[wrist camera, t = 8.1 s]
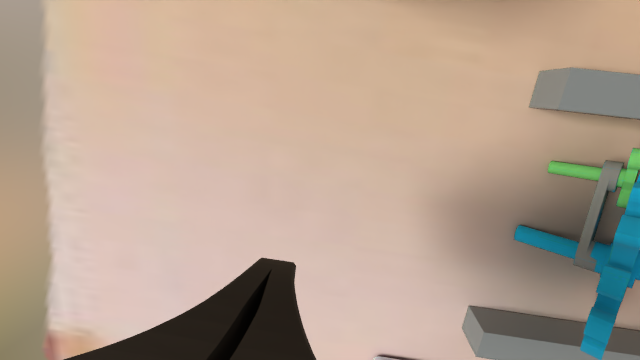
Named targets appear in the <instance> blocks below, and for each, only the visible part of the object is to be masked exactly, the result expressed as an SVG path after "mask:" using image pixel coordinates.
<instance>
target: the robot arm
mask: <svg viewBox="0 0 640 360" xmlns="http://www.w3.org/2000/svg"><path fill="white" fill-rule="evenodd" d="M295 270H296V265H295V264H294V263H293V262H287V261H280V260H273V259H267V258H261V259H259V260H258V261H257V262H256V263H254V264H253V265H252V266H251V267H250V268H248V269H247V270H246V271H245V272H244V273H242V274H241V275H240V276H239V277H237V278H236V279H235V280H233V281H232V282H231V283H230V284H228V285H227V286H226V287H224V288H223V289H221V290H220V291H218V292H217V293H216V294H214V295H213V296H211V297H210V298H208V299H207V300H205V301H204V302H202V303H200V304H199V305H197V306H195V307H194V308H192V309H190V310H188V311H186V312H185V313H183V314H181V315H179V316H177V317H175V318H173V319H171V320H169V321H166V322H164V323H162V324H160V325H158V326H156V327H154V328H152V329H149V330H147V331H145V332H142V333H140V334H137V335H135V336H133V337H130V338H127V339H125V340H122V341H119V342H117V343H114V344H111V345H108V346H105V347H103V348H100V349H96V350H93V351H90V352H87V353H84V354H80V355H77V356H74V357H71V358H67V359H64V360H316V358H315V356H314V354H313V352H312V349H311V347H310V344H309V342H308V339H307V337H306V334H305V331H304V328H303V325H302V321H301V318H300V314H299V310H298V305H297V300H296V294H295V286H294V279H295ZM373 360H400V359H393V358H387V357H381V356H377V357H375V358H374V359H373Z"/></svg>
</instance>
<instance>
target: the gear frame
mask: <svg viewBox="0 0 640 360" xmlns="http://www.w3.org/2000/svg"><path fill="white" fill-rule="evenodd" d="M529 107H532V108H540V109H549V110H558V111H567V112H575V113H584V114H593V115H602V116H611V117H619V118H628V119H637V120H640V75H636V74H627V73H618V72H608V71H599V70H589V69H580V68H563V69H555V70H546V71H540V72H539V75H538V79H537V82H536V85H535V89H534V92H533V95H532V98H531V102H530V105H529ZM585 326H586V323H582V322H575V321H569V320H562V319H555V318H548V317H541V316H535V315H528V314H521V313H514V312H508V311H501V310H494V309H487V308H480V307H474V306H469V307H468V310H467V313H466V317H465V320H464V323H463V326H462V329H463V331H464V333H465V335H466V338H467V340H468V342H469V344H470V346H471V348H472V350H473V352H474V354H475V356H476V357H481V358H487V359H493V360H599V359H597V358H595V357H593V356H591V355H589V354H587V353H585V352H583V351H581V350H580V348H581V344H582V340H583V338H584V335H585V334H583V333H584V330H585ZM602 360H640V331H636V330H630V329H623V328H616V327H613V329H612V332H611V334H610V337H609V340H608V343H607V345H606V348H605V351H604V354H603V357H602Z"/></svg>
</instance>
